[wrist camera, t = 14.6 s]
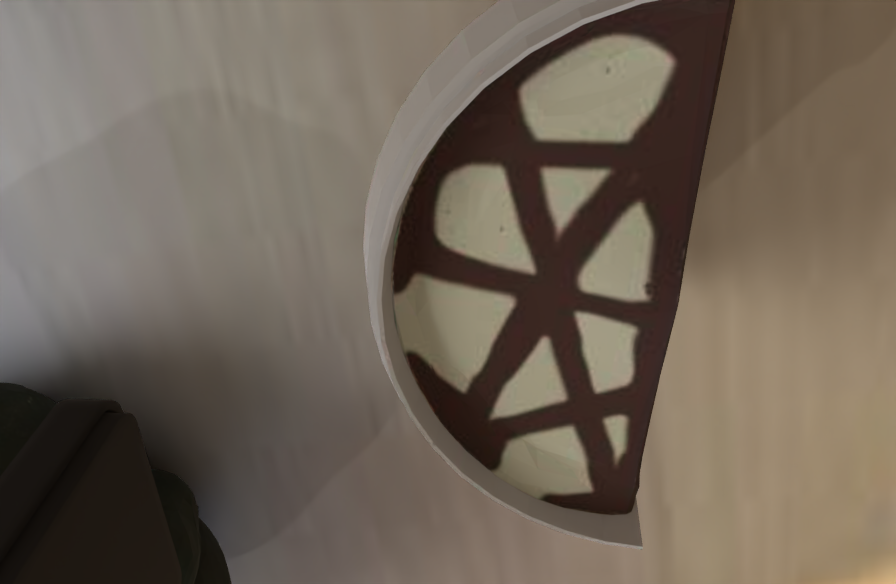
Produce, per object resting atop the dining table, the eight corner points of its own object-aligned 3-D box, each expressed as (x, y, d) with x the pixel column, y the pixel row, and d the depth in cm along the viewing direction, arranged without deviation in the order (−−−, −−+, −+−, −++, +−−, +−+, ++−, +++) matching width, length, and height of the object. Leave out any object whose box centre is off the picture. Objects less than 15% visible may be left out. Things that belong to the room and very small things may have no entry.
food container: (412, -120, 20) (330, -80, 11) (663, -109, 20) (776, -59, 11) (407, 307, 26) (351, 543, 18) (599, 320, 26) (638, 567, 17)
